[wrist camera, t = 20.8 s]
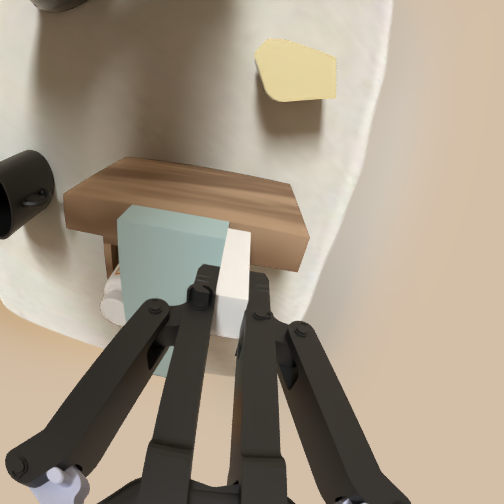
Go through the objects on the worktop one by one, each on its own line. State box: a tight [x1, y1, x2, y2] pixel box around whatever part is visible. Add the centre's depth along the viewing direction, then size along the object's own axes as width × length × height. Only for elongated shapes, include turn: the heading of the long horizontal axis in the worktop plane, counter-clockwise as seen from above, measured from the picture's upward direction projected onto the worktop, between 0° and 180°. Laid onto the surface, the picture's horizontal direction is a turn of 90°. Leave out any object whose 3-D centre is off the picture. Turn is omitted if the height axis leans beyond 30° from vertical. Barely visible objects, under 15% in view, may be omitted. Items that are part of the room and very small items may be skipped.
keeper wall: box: [63, 157, 310, 272], centre depth 24 cm, size 3×19×12 cm, turn 78°
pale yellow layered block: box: [255, 39, 336, 102], centre depth 21 cm, size 10×9×6 cm
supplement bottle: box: [100, 264, 126, 326], centre depth 30 cm, size 5×5×10 cm
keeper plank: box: [117, 205, 229, 377], centre depth 21 cm, size 16×7×2 cm, turn 168°
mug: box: [0, 150, 54, 239], centre depth 25 cm, size 9×12×9 cm
